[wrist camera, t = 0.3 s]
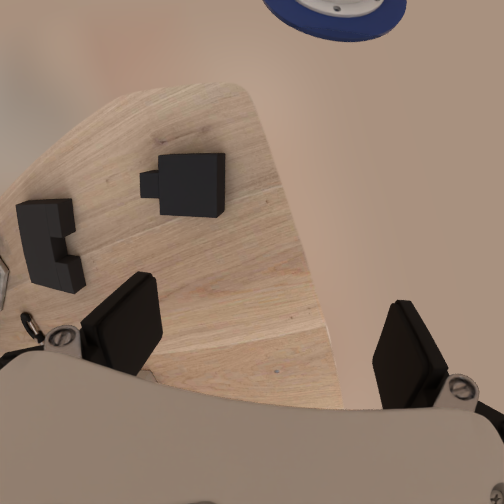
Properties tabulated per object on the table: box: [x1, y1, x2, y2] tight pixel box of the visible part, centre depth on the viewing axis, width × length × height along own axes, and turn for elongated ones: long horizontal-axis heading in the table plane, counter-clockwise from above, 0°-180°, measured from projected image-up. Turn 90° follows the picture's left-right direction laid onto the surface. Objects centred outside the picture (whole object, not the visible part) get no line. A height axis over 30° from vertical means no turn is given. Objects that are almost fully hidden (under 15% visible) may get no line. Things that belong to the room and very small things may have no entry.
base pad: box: [16, 199, 86, 294], centre depth 36 cm, size 14×12×3 cm
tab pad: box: [140, 153, 225, 218], centre depth 30 cm, size 6×9×3 cm
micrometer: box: [21, 313, 45, 345], centre depth 48 cm, size 15×7×2 cm, turn 19°
